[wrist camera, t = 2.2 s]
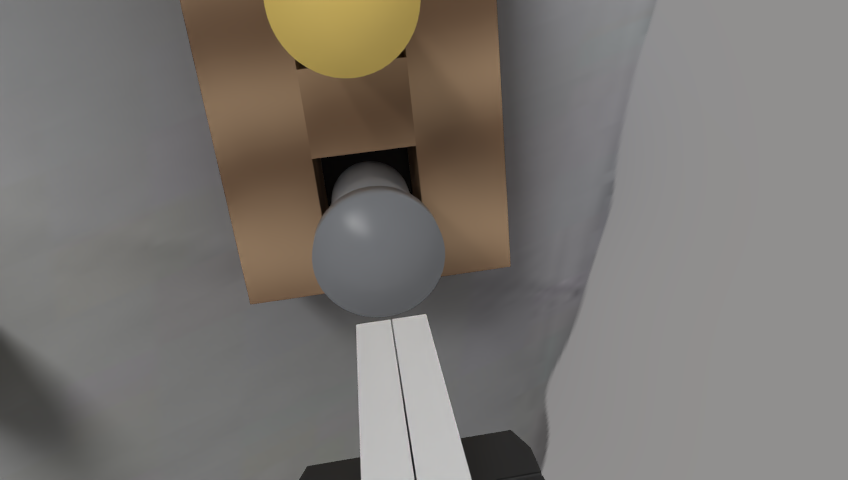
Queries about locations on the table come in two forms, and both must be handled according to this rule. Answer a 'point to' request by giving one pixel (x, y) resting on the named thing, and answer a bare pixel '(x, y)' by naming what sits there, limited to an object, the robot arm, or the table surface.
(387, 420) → the robot arm
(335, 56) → the ochre plug
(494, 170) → the walnut plug block
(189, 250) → the table surface
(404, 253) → the graphite plug
